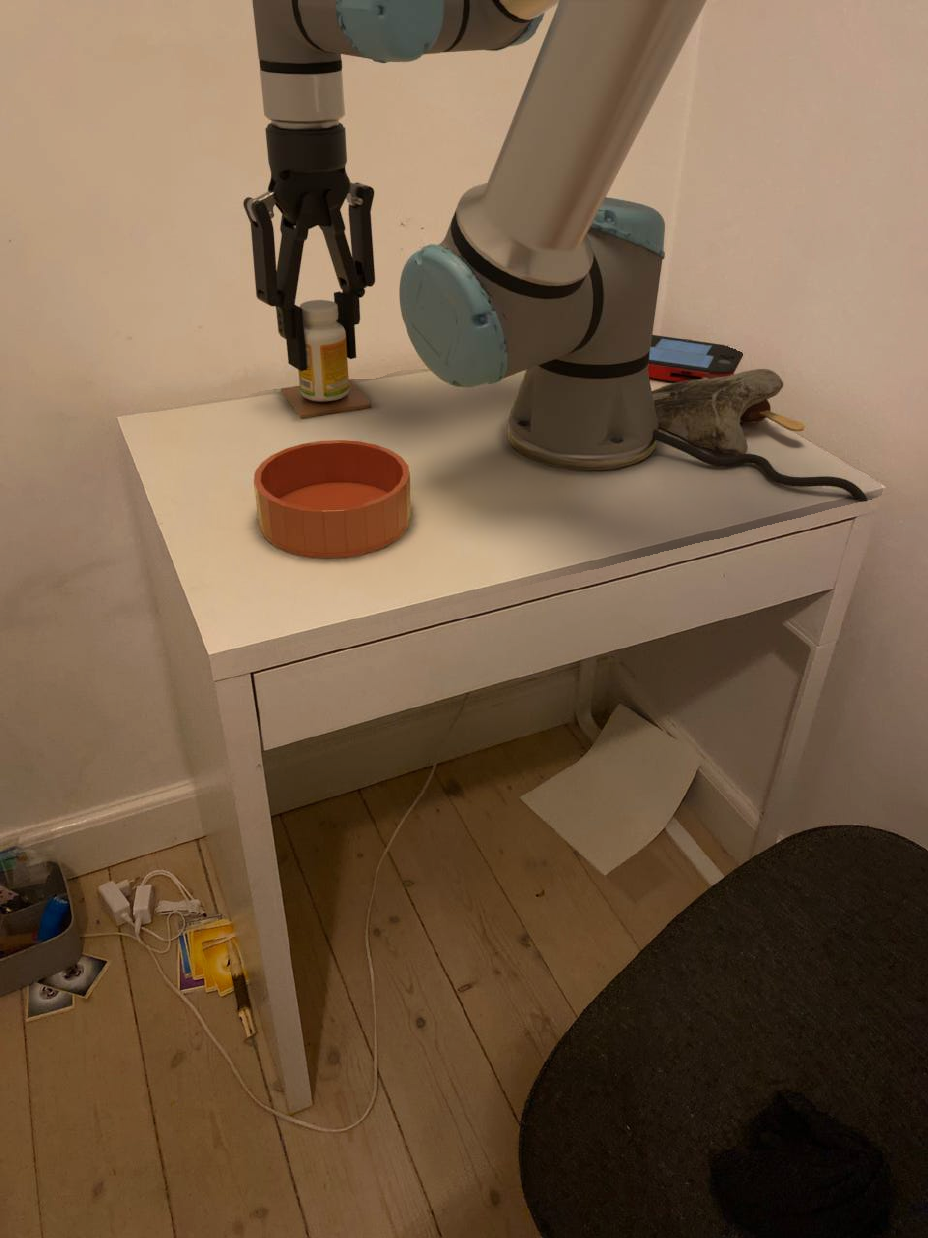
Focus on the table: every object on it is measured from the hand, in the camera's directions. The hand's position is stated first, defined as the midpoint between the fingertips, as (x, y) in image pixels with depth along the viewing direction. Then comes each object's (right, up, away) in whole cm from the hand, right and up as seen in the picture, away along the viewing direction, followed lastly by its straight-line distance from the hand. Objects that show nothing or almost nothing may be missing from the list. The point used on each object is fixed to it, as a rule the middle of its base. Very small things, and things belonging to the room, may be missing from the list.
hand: (322, 360), depth 103 cm
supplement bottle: (0, -3, +2) cm, 4 cm away
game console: (+41, +3, +13) cm, 43 cm away
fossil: (+34, -4, +1) cm, 34 cm away
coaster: (0, -4, +3) cm, 4 cm away
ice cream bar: (+49, -9, -7) cm, 50 cm away
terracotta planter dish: (+4, -19, -19) cm, 27 cm away
